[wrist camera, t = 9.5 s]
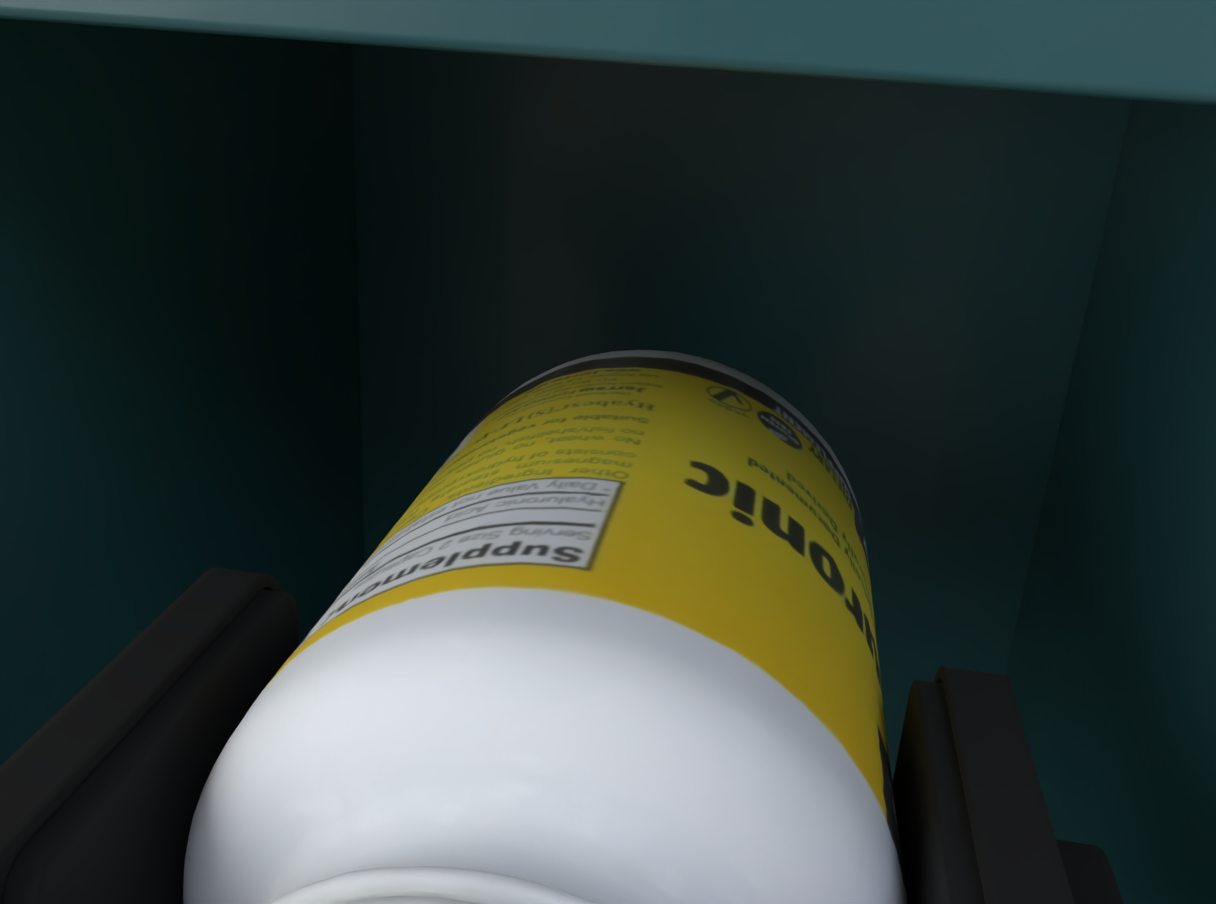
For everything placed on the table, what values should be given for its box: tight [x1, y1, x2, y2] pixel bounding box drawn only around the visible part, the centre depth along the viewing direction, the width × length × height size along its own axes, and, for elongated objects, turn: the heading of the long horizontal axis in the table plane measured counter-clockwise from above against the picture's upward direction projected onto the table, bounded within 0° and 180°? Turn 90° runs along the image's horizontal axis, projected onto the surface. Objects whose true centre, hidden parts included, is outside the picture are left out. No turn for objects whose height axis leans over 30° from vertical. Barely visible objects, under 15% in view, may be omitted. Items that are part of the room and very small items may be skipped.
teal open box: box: [0, 0, 1216, 904], centre depth 15 cm, size 16×14×12 cm
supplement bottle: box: [183, 350, 908, 904], centre depth 10 cm, size 5×5×10 cm
